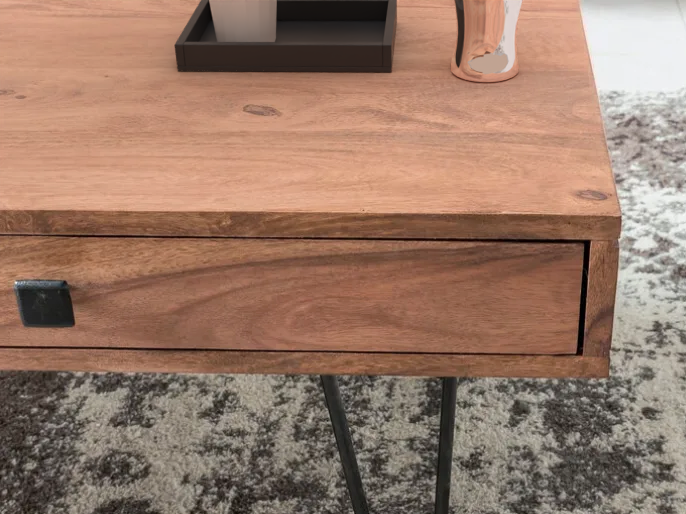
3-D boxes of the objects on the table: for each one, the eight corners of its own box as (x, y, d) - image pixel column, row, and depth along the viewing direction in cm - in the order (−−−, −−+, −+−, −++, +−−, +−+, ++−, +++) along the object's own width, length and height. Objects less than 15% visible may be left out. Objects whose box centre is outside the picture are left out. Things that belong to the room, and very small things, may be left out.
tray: (177, 71, 96) (174, 44, 95) (204, 22, 107) (201, -3, 106) (391, 72, 95) (391, 45, 93) (396, 22, 106) (396, -3, 104)
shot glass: (290, 30, 103) (286, -44, 99) (270, 55, 98) (265, -23, 93) (224, 27, 104) (217, -47, 100) (200, 50, 99) (192, -26, 95)
